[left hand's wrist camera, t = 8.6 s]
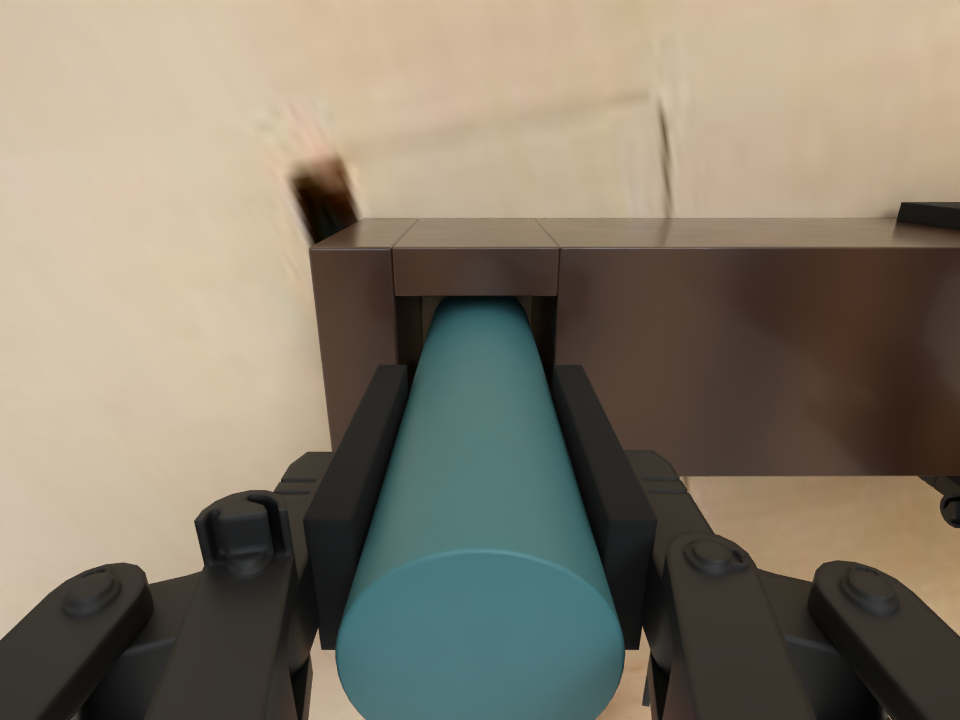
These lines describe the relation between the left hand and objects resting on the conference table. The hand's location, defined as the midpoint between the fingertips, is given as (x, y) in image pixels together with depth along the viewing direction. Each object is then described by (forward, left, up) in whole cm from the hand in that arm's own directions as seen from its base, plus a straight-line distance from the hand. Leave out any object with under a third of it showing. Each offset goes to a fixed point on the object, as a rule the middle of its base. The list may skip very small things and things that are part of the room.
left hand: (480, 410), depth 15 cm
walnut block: (+8, +4, -11) cm, 14 cm away
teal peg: (0, 0, -7) cm, 7 cm away
